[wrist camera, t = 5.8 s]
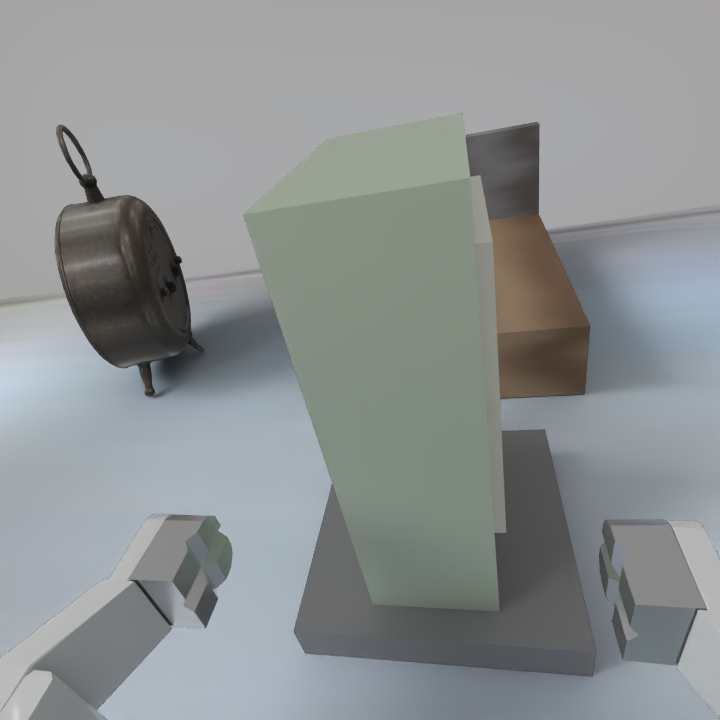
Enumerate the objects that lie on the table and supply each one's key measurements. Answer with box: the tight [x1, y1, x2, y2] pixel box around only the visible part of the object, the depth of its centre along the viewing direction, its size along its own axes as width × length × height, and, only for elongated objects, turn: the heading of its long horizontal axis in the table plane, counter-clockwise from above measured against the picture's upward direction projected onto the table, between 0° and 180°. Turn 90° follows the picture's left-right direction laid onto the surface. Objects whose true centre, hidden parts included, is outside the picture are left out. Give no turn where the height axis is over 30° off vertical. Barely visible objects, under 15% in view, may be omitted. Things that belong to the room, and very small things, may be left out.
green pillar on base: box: [243, 113, 596, 676], centre depth 15 cm, size 9×9×14 cm
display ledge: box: [465, 122, 590, 398], centre depth 30 cm, size 14×17×10 cm
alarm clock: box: [54, 125, 204, 397], centre depth 31 cm, size 11×5×16 cm, turn 12°
